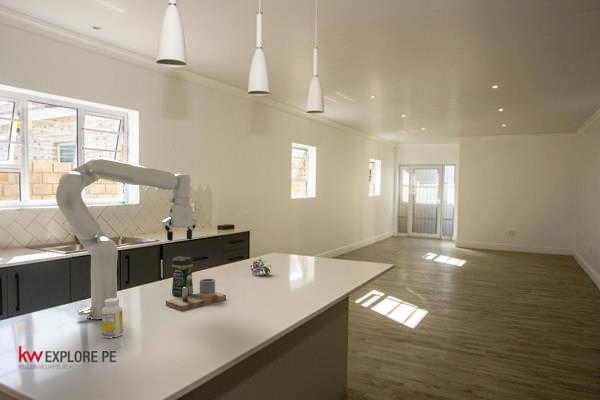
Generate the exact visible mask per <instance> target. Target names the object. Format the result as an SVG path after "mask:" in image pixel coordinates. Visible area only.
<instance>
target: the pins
mask: <svg viewBox="0 0 600 400" xmlns="http://www.w3.org/2000/svg"><path fill="white" fill-rule="evenodd" d="M181 297H182V301H188V288H187V287H183V289H182V296H181Z"/></svg>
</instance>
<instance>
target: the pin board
mask: <svg viewBox="0 0 600 400" xmlns="http://www.w3.org/2000/svg"><path fill="white" fill-rule="evenodd" d="M225 300H227V294H224V293H220V292H217V291H215V296H212V297H201V296H200V292H198V293H192V294H191V295H189V296H188V301H182V296H179V297H176V298H173V299H168V300H165V306H166V307H169V308H172V309H174V310H177V311H180V312H182V311H185V310H189V309H193V308H198V307H202V306H205V305H209V304H212V303H216V302H217V303H218V302H221V301H225Z"/></svg>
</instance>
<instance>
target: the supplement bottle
mask: <svg viewBox="0 0 600 400" xmlns="http://www.w3.org/2000/svg"><path fill="white" fill-rule="evenodd" d="M119 303H120V299H119V297H117V298H109V299H106V300H105V301H104V304H105V307H104V308H103V309H102V320H101V336H102V338H104V337H105V338H104V339H108V338H110V339H112V338H111V337H116V338H118V337H117V336H119V337H120V335H121V336H122V335H123V334H124V333H123V332H124V329H123V327H124V326H123V325H124V323H123V322H124V321H123V307H122V306H121V305H120V304H119Z"/></svg>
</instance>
